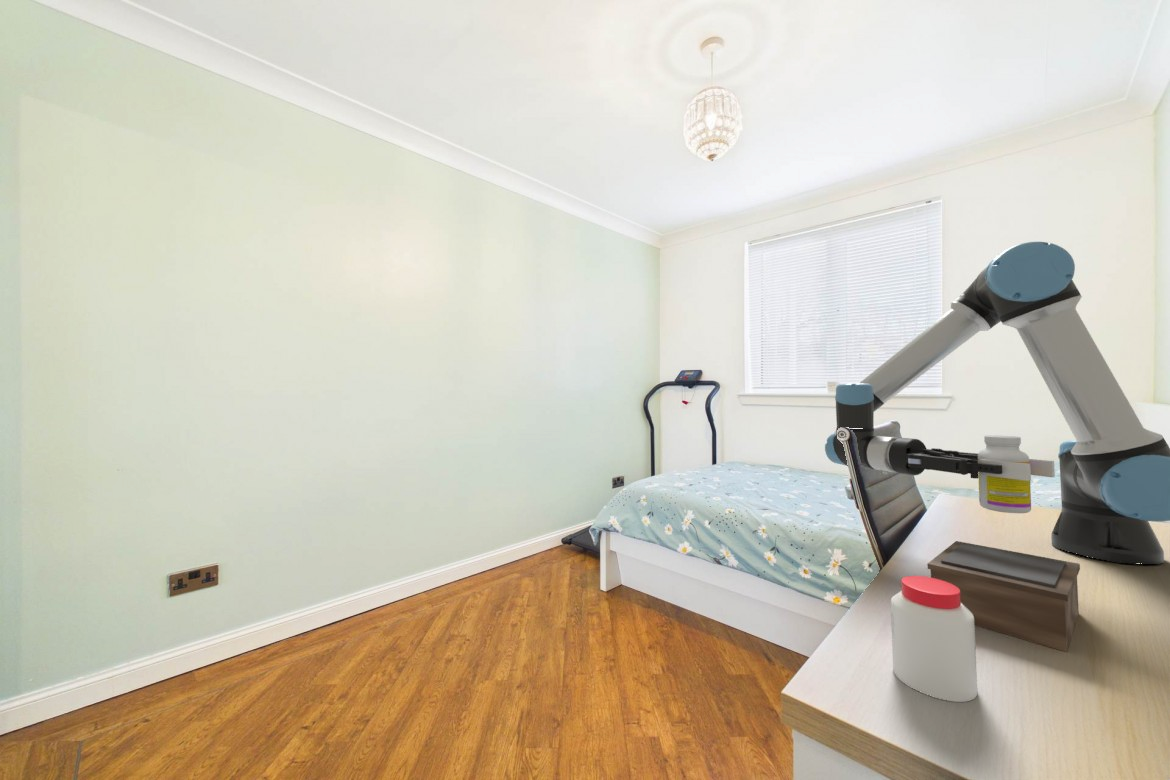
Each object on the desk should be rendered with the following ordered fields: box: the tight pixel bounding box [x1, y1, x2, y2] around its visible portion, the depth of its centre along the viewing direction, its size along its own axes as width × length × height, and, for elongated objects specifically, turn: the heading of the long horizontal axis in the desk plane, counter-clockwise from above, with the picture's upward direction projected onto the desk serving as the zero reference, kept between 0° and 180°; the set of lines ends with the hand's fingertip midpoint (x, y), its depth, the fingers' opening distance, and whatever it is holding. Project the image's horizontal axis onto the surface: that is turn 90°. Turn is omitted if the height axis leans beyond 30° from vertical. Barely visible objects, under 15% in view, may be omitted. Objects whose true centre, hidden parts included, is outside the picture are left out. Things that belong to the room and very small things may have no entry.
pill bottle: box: [890, 575, 978, 703], centre depth 52 cm, size 8×8×11 cm
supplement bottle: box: [977, 434, 1032, 514], centre depth 78 cm, size 7×7×13 cm
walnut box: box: [927, 540, 1081, 653], centre depth 68 cm, size 17×15×8 cm
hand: (1041, 470), depth 74 cm, fingers closed on supplement bottle, 7 cm apart
